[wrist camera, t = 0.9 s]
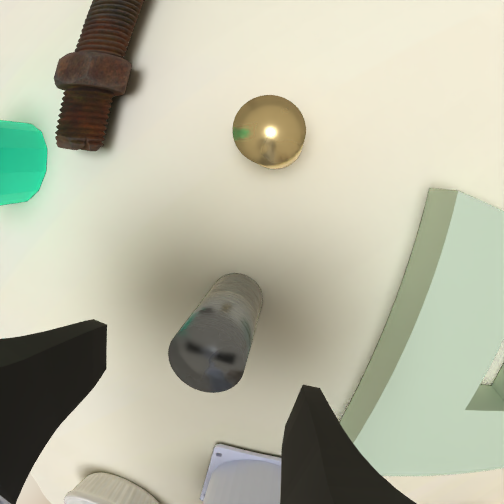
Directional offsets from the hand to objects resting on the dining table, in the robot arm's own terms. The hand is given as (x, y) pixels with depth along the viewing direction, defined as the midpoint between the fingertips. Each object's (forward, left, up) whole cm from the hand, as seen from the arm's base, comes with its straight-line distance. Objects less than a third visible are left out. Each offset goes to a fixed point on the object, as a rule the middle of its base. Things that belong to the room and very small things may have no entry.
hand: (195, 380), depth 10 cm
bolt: (+14, +11, -9) cm, 20 cm away
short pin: (+9, 0, -8) cm, 12 cm away
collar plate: (0, -18, -8) cm, 20 cm away
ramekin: (-28, +7, -9) cm, 30 cm away
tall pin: (0, 0, -8) cm, 8 cm away
